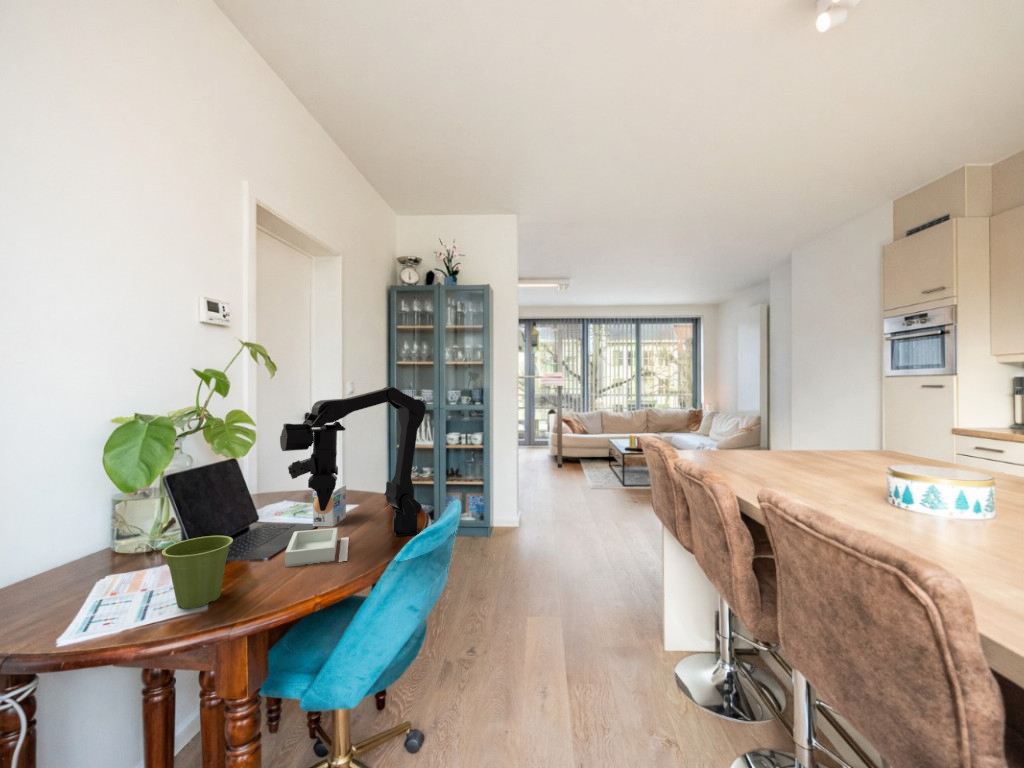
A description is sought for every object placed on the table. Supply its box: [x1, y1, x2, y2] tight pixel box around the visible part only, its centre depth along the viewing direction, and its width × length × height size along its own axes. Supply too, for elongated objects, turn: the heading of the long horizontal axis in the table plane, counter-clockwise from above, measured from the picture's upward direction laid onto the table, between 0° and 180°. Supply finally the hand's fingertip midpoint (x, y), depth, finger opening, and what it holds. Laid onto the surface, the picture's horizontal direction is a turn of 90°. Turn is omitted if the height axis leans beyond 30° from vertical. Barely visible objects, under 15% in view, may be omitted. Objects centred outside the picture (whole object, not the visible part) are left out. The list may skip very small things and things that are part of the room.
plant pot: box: [161, 535, 234, 609], centre depth 91 cm, size 12×12×11 cm
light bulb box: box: [312, 484, 347, 528], centre depth 144 cm, size 11×7×11 cm, turn 179°
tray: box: [284, 527, 338, 568], centre depth 118 cm, size 11×16×4 cm
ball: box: [312, 497, 334, 514], centre depth 118 cm, size 5×5×5 cm
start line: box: [338, 536, 350, 563], centre depth 120 cm, size 2×18×1 cm, turn 19°
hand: (323, 508), depth 118 cm, fingers closed on ball, 5 cm apart
